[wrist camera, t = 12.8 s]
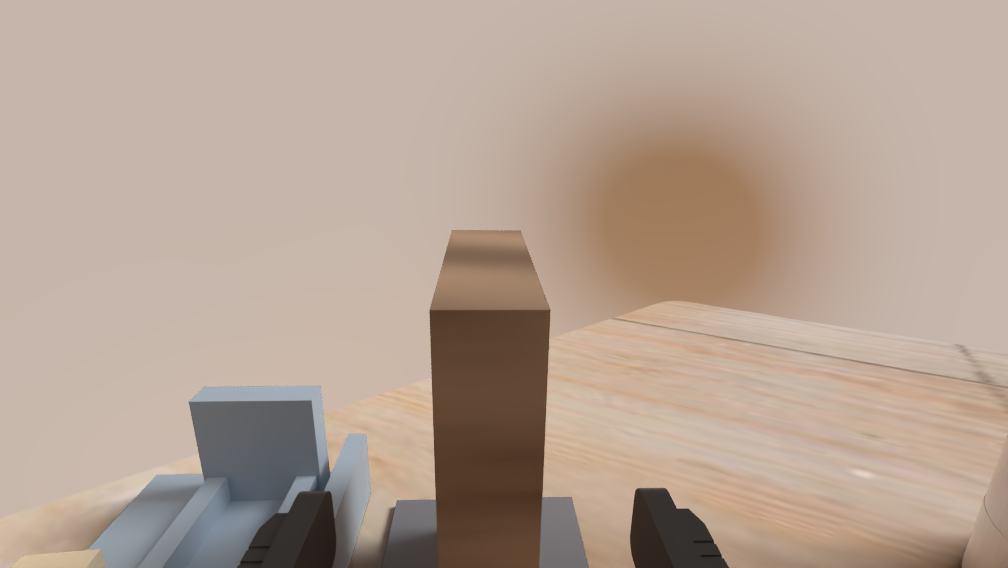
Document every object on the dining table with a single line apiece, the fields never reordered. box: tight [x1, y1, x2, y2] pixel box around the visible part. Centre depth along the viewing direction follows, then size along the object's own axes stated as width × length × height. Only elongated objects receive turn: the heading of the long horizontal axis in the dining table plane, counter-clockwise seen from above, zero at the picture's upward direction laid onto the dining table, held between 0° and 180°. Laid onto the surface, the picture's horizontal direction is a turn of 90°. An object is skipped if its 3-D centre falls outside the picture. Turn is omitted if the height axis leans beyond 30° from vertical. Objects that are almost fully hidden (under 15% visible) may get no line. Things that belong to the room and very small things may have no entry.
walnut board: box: [430, 230, 550, 568], centre depth 20 cm, size 10×3×16 cm, turn 2°
